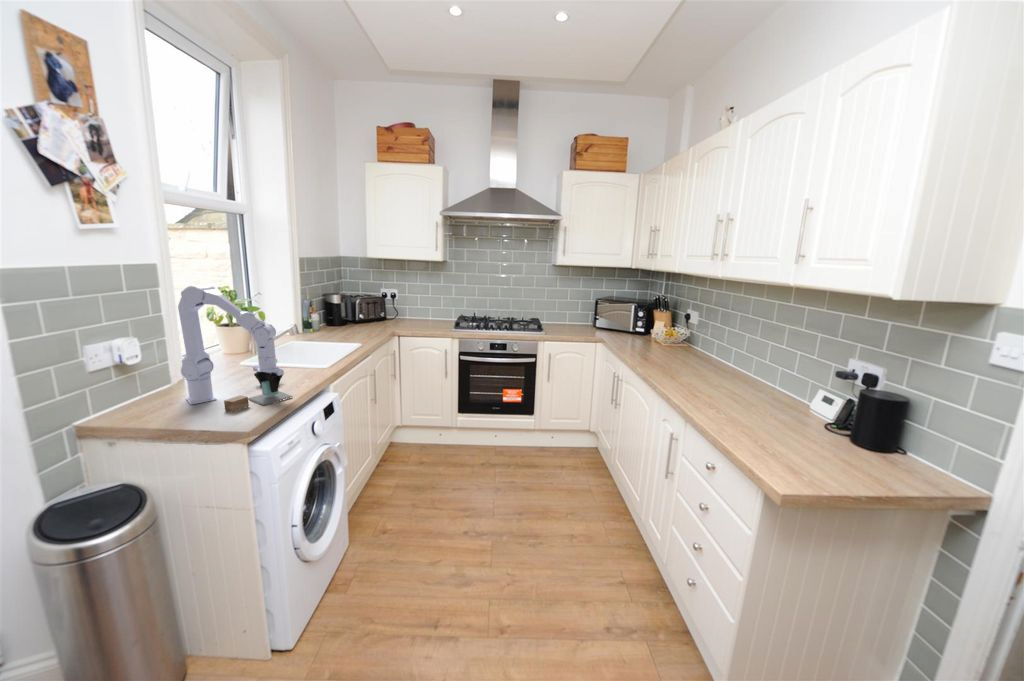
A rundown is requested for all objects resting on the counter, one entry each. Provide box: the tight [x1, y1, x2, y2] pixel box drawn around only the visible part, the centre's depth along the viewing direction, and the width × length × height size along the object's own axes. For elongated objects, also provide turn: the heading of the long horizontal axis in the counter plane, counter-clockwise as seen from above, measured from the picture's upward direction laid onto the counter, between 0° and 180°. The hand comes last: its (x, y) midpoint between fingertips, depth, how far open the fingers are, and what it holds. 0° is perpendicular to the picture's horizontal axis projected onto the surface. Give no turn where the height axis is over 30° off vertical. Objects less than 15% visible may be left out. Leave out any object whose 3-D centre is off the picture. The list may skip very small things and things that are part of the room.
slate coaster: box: [248, 390, 293, 406], centre depth 158 cm, size 11×11×1 cm
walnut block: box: [223, 394, 250, 413], centre depth 147 cm, size 4×6×4 cm, turn 162°
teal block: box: [261, 381, 279, 397], centre depth 157 cm, size 4×4×5 cm
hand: (270, 390), depth 157 cm, fingers closed on teal block, 4 cm apart
